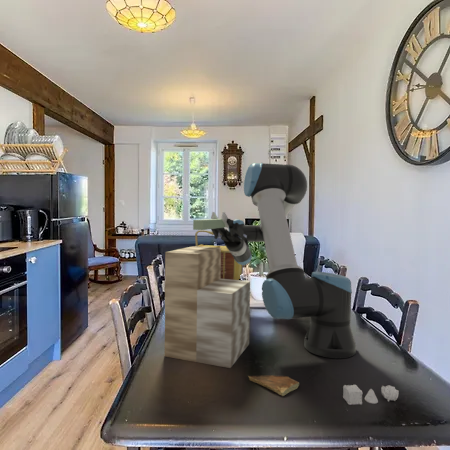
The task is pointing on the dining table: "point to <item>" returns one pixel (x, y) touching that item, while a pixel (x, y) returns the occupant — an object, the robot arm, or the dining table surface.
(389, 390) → the game pieces
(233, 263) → the picnic basket
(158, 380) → the dining table surface
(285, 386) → the shard
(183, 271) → the stand
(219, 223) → the green block
